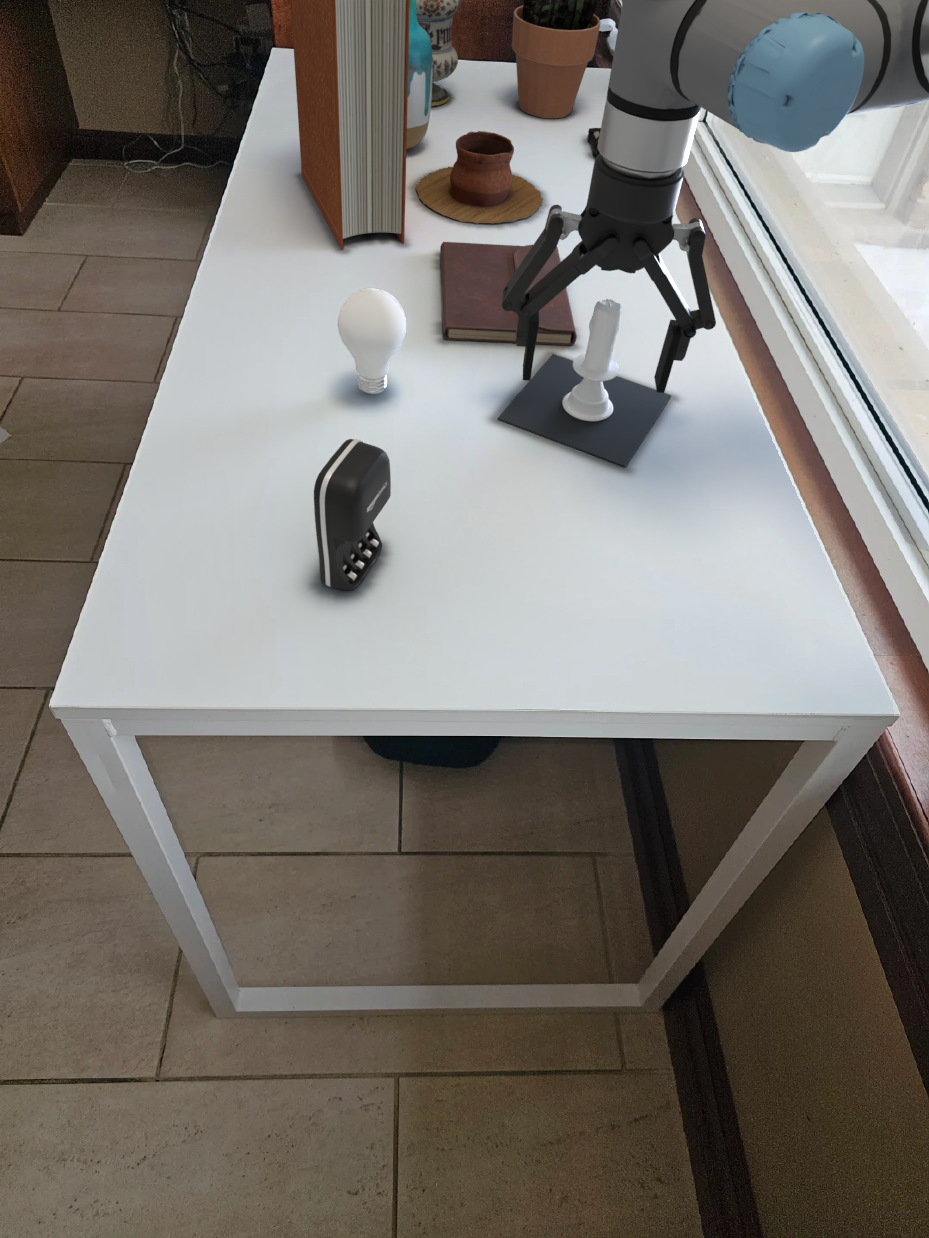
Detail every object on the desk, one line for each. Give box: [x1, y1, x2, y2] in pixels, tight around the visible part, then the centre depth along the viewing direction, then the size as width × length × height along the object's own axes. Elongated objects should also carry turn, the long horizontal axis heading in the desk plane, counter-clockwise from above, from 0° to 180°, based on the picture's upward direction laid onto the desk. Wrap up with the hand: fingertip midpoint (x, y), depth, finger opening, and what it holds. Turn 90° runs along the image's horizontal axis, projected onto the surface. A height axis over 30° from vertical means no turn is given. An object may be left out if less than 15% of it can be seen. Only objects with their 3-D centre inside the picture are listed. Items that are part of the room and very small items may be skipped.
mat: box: [497, 353, 672, 468], centre depth 91 cm, size 14×14×1 cm
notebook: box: [439, 241, 578, 347], centre depth 103 cm, size 15×20×2 cm
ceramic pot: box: [415, 130, 543, 225], centre depth 119 cm, size 18×18×7 cm
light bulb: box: [337, 287, 408, 395], centre depth 85 cm, size 7×7×11 cm
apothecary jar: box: [416, 0, 463, 108], centre depth 137 cm, size 12×12×18 cm
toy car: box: [587, 127, 601, 157], centre depth 134 cm, size 10×4×3 cm, turn 3°
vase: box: [406, 0, 433, 150], centre depth 123 cm, size 11×11×19 cm
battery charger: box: [313, 438, 392, 591], centre depth 69 cm, size 7×4×11 cm, turn 158°
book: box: [290, 0, 410, 251], centre depth 105 cm, size 23×8×30 cm, turn 20°
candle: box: [562, 298, 623, 421], centre depth 86 cm, size 5×5×12 cm
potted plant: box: [511, 0, 602, 120], centre depth 135 cm, size 14×14×25 cm
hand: (592, 379), depth 88 cm, fingers open, 13 cm apart
